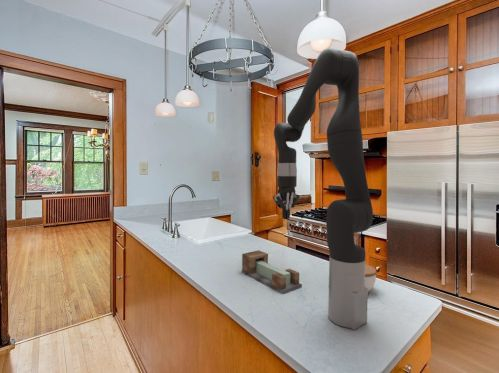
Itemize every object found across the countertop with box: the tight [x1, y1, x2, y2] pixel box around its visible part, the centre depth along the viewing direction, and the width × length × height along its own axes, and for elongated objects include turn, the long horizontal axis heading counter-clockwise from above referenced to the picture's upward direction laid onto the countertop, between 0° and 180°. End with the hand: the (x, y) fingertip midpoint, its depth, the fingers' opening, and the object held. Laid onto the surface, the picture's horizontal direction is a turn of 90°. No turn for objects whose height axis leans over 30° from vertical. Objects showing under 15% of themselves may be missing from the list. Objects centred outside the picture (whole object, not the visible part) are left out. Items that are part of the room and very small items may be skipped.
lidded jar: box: [365, 263, 377, 292], centre depth 91 cm, size 11×11×9 cm
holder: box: [241, 249, 303, 295], centre depth 100 cm, size 24×9×8 cm, turn 37°
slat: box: [255, 259, 290, 285], centre depth 100 cm, size 20×3×4 cm, turn 37°
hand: (286, 218), depth 104 cm, fingers closed
